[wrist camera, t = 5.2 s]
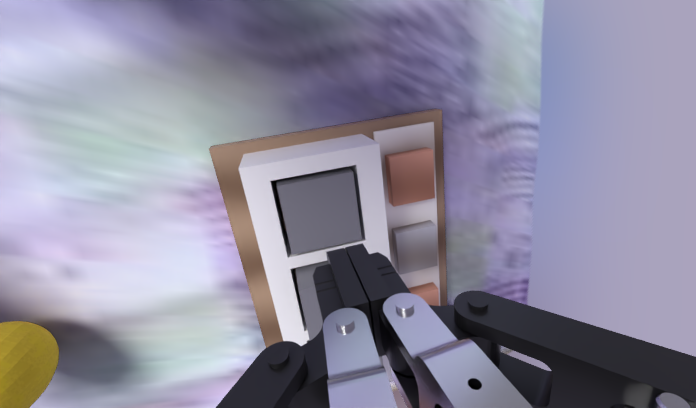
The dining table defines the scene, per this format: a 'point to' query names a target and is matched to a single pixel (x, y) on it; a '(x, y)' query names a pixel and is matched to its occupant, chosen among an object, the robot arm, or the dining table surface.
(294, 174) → the switch housing
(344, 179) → the button
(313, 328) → the button
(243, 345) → the dining table surface
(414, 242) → the switch base
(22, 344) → the lemon
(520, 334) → the robot arm
